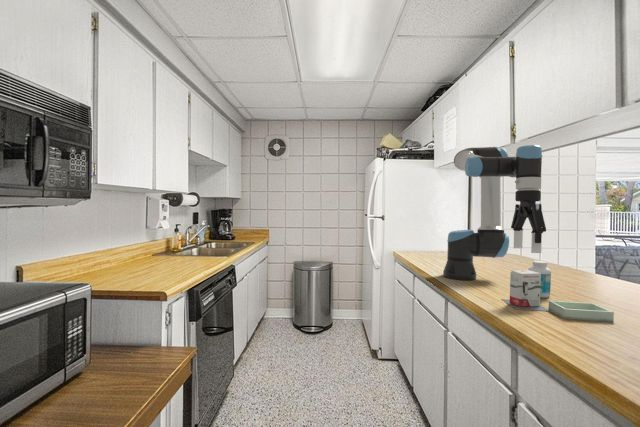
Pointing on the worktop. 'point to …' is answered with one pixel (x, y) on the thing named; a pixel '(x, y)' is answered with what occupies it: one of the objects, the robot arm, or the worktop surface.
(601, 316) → the tray
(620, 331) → the worktop surface
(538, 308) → the label
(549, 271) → the pill bottle
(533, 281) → the ink box
